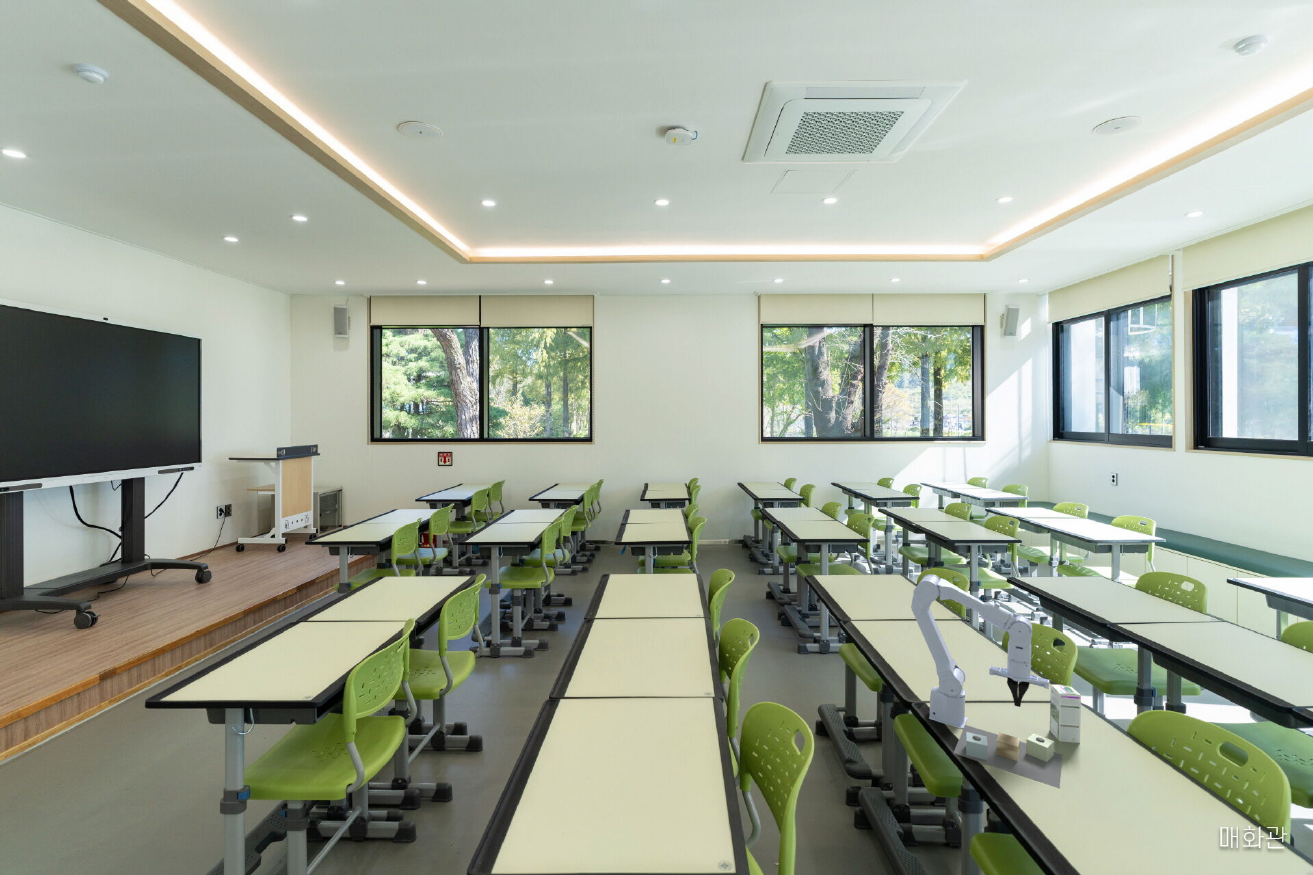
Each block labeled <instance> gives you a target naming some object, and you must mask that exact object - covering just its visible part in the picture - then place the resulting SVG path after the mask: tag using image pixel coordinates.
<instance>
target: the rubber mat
mask: <svg viewBox="0 0 1313 875" xmlns="http://www.w3.org/2000/svg"><path fill="white" fill-rule="evenodd" d="M966 732H969V733H974V734H978V735H982V736H986V737H987V744H988V752H987V760H984V759H980V758H976V757H972V756H968V755H966ZM998 735H999V734H997V733H994V732H992V731H991V732H990V731H988V730H984V729H980V728H976V727H974V726H970V725H967V724H965V726H964V729H962V732H961V734H960V736H959V738H958V741H957V743H956V746H955V748H954V751H953V754H956V755H958V756H961V757H964V758H967V759H970V760H974V761H976V762H978V763H979V762H980V763H983V764H986V765H988V766H991V767H994V768H998V769H999V770H1004V771H1007V772H1009V773H1012V774H1015V775H1018V776H1020V777H1021V776H1022V777H1024V778H1027V779H1031V780H1033V781H1037V782H1039V783H1043V784H1045V785H1048V786H1051V787H1054V788H1057V789H1060V788H1061V776H1062V765H1063V753H1060V752H1056V751H1054V756H1053V757H1052V758H1051V759H1050V760H1049V761H1048V762H1045V761H1043V760H1040V759H1038V758H1036V757H1033V756H1031V755H1029V754H1026V742H1023V741H1020V753H1019V758H1018V761H1015V760H1012V759H1009V758H1006V757H1003V756H999V755H996V749H997V738H998Z"/></svg>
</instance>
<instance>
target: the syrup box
mask: <svg viewBox="0 0 1313 875" xmlns="http://www.w3.org/2000/svg"><path fill="white" fill-rule="evenodd" d="M1049 696H1050V698H1049V699H1050V701H1049V703H1050V704H1049V705H1050V706H1049V709H1050V710H1049V731H1050V732H1051V734H1052V736H1054V738H1056V740H1057V741H1059V742H1066V743H1076V744H1080V743H1081V712H1082V711H1081V709H1082V707H1081V706H1082V705H1081V703H1082V702H1081V701H1082V695H1081V694H1080V693H1079V692H1078V691H1077V690H1075V689H1074V688H1073V686H1071V685H1065V684H1050V695H1049Z"/></svg>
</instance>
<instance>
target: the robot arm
mask: <svg viewBox="0 0 1313 875" xmlns="http://www.w3.org/2000/svg"><path fill="white" fill-rule="evenodd" d="M938 597H939V601H944V600H945V601H946V600H952V601H954V602H957V603H959V604H961V605H962V606H965V607H967V608H969V609H971V610H973V611H976V612H977V613H979V615H980V618H981V619H982V620H984V621H985V622H988V623H989V624H990V625H991V624H992V626H995V627H996V628H998V629H1000V630H1002V631H1004V632H1007V634H1008V635H1009V638H1008V641H1007V662H1006V663H1007V667H997V666H993V665H990V666H989V670H988V671H989V672H988V673H989V675H990V676H997V677H1002V678H1006V679H1007V680H1006V684H1007V687H1008V689H1009V690H1010V692H1011V695H1012V698H1013V703H1014V704H1013V705H1014V706H1015V707H1018V708H1021V706H1022V702H1023V701H1022V699H1023V698H1024V696H1025V694H1026V693H1027V691H1028V690H1029V687H1030V685H1034V686H1038V687H1042V688H1044V689H1046V690H1049V689H1050V679H1047V678H1043V677H1041V676H1037V675H1036V674H1035V675H1034V674H1032V672H1031V670H1032V665H1031V663H1032V637H1033V624H1032V622H1031V621H1030V620H1029V618H1028V617H1026V616H1025V615H1024V614H1019V613H1017V612H1011V611H1009V610H1008V609H1006V608H1005V607H1001V603H999V602H997V601H996V602H993V601H986V602H984V601H982V600H981V599H978V598H977V597H975V596H973V595H971V594H970V593H969V592H966V591H965V590H963V589H962V588H960V587H958V586H956V585H955V584H953V583H951V582H950V581H948V580H947V579H944V578H942V577H941V578H940V577H939V576H938V575H936V574H932V573H931V574H926V575H924V576H923V577H922V578H921V579H920V581H919V582H918V584H917V585H916V586H915V587H914V589H913V594H912V600H911V603H910V604H911V606H910V608H911V612H912V613H913V616H914V618H915V620H916V622H917V624H918V627H919V630H920V632H921V634H922V636H923V638H924V641H925V643H926V645H927V647H928V650H929V652H930V654H931V657H932V659H933V661H934V663H935V669H936V670H935V671H936V675H937V676H938V686H932V687H931V690H930V696H929V717H928V719H930V720H933V721H935V722H938V723H941V724H944V725H948V726H952V727H955V728H958V729H961V730H963V729H964V726H965V725H967V724H966V723H967V722H968V718H969V717H967V716H965V714H966V713H965V712H966V709H965V708H966V691H965V690H964V688H963V686H964V683H965V681H966V673H965V672H964V670H963V669H962V668H961V667H960V666H959V665H958V663H957V662H956V660H955V659H954V658H953V657H952V655H951V653H950V651H949V649H948V646H947V644H946V642H945V640H944V637H943V634H941V633H942V632H941V630H940V629H939V626H938V624H937V622H936V620H935V618H934V616H933V613H932V611H931V609H930V607H931V605H932V604H933V602H935V601H936V600H937V598H938Z"/></svg>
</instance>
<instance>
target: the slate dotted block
mask: <svg viewBox="0 0 1313 875" xmlns="http://www.w3.org/2000/svg"><path fill="white" fill-rule="evenodd" d="M987 752H988V744H987V737H986V736H982V735H978V734H974V733H969V732H966V755H968V756H972V757H976V758H980V759H984V760H987Z"/></svg>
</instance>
